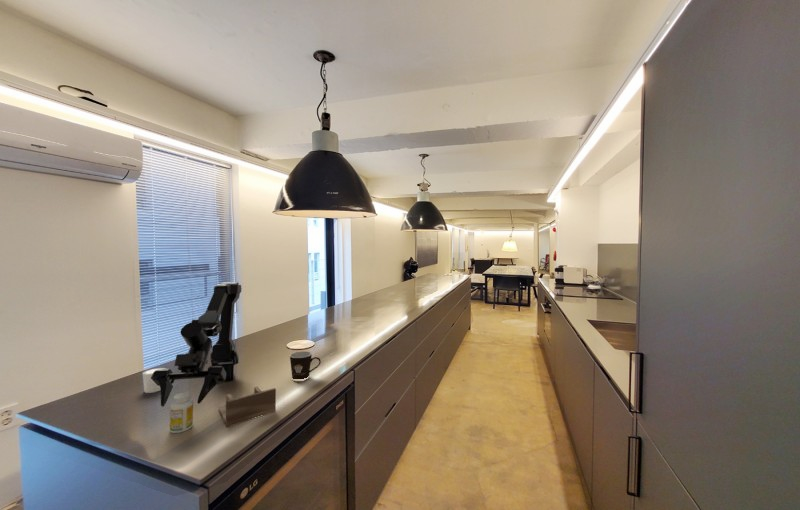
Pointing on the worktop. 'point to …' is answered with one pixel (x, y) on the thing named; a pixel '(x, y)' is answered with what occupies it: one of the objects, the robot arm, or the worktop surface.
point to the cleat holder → (248, 406)
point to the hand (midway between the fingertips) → (180, 404)
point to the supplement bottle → (181, 413)
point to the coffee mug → (301, 364)
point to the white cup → (150, 381)
